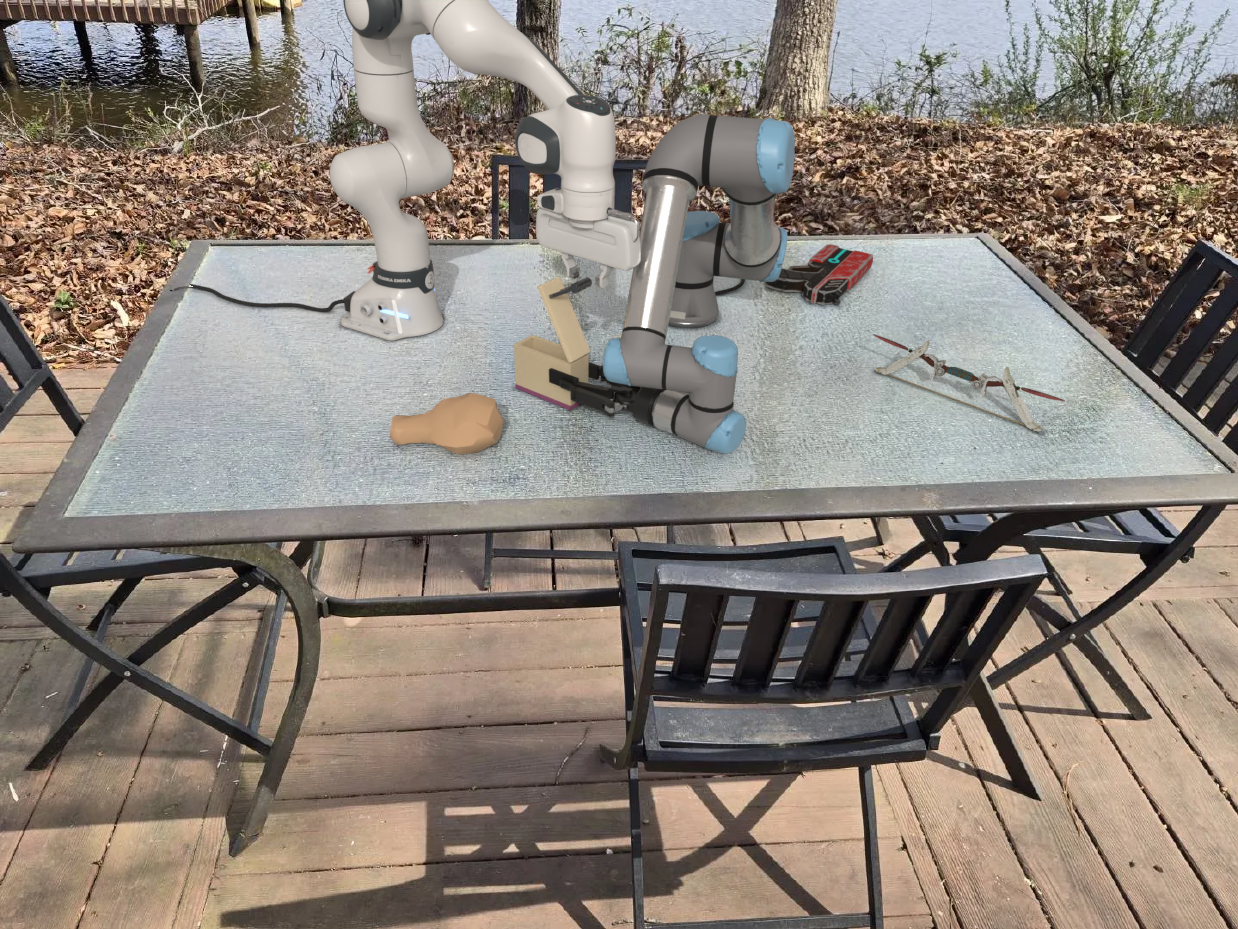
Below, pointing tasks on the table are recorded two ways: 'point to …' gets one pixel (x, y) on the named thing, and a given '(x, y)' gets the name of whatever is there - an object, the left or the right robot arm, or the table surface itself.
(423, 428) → the squash
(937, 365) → the bow
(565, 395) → the chest
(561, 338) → the lid
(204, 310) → the table surface
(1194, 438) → the table surface
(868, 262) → the gun
